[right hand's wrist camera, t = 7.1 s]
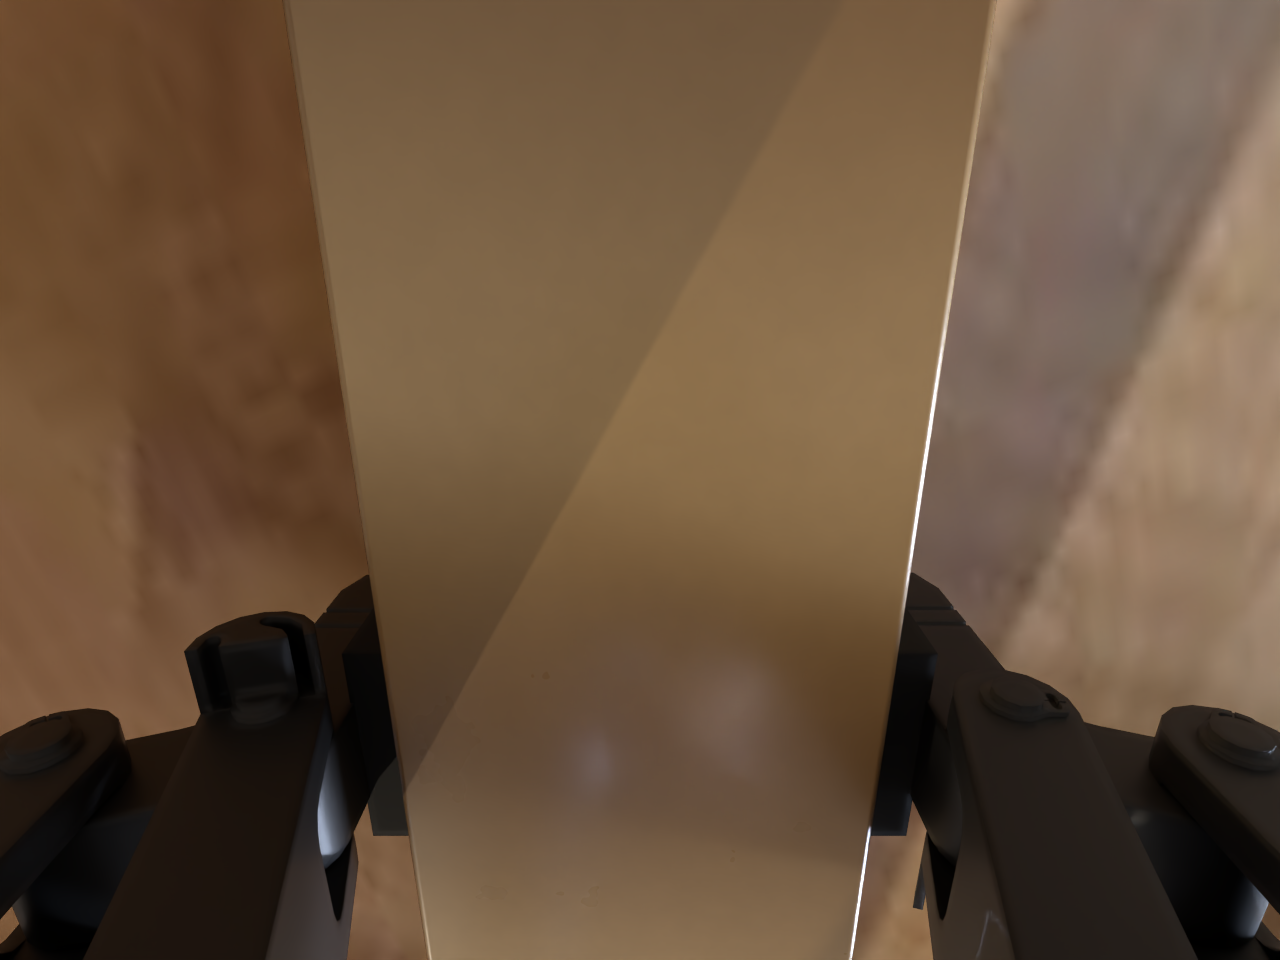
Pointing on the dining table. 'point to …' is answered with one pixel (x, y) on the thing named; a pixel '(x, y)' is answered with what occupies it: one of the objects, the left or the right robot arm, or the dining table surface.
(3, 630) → the dining table surface
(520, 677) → the board
